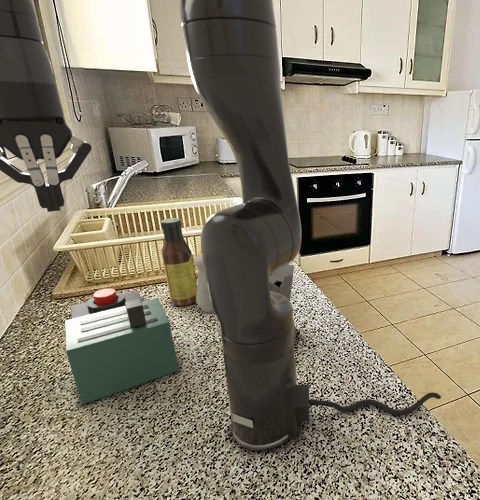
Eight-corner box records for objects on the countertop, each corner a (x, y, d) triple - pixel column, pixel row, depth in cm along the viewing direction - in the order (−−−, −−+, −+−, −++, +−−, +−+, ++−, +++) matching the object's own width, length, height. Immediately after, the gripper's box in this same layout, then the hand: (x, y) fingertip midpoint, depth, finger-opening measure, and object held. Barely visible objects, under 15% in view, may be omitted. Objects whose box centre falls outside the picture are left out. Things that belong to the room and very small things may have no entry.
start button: (116, 295, 83) (114, 286, 82) (118, 302, 80) (116, 294, 79) (94, 299, 81) (92, 291, 80) (96, 307, 78) (93, 299, 77)
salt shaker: (215, 315, 82) (208, 261, 78) (192, 312, 84) (184, 259, 79) (228, 303, 88) (223, 252, 83) (206, 300, 89) (200, 249, 84)
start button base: (139, 298, 89) (136, 283, 88) (146, 317, 81) (143, 300, 80) (73, 314, 82) (68, 298, 80) (74, 336, 74) (69, 318, 73)
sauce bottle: (204, 298, 90) (194, 219, 82) (181, 309, 85) (168, 226, 77) (187, 291, 93) (175, 214, 86) (164, 301, 88) (149, 221, 81)
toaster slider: (143, 316, 62) (139, 298, 61) (146, 323, 60) (142, 305, 59) (128, 320, 61) (124, 302, 60) (131, 328, 59) (126, 308, 58)
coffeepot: (307, 350, 72) (305, 264, 65) (258, 363, 68) (250, 273, 61) (284, 312, 85) (280, 237, 78) (241, 321, 81) (234, 243, 74)
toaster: (166, 342, 73) (157, 297, 69) (178, 370, 65) (169, 321, 62) (79, 369, 65) (64, 319, 62) (82, 404, 58) (65, 350, 54)
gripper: (-62, 75, 42) (-11, 223, 48) (82, 81, 49) (110, 209, 55) (-47, 78, 47) (-3, 210, 53) (79, 83, 54) (105, 199, 61)
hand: (54, 210), depth 54 cm, fingers closed
